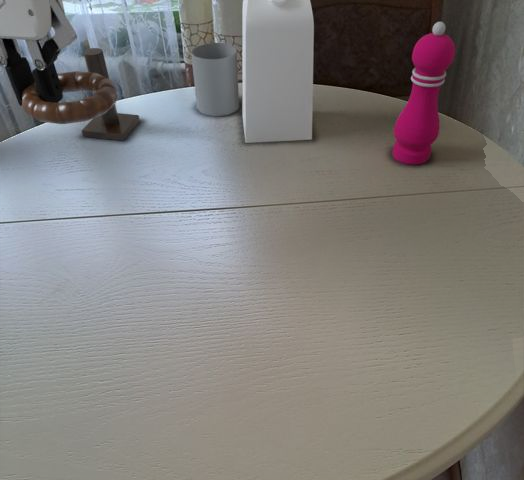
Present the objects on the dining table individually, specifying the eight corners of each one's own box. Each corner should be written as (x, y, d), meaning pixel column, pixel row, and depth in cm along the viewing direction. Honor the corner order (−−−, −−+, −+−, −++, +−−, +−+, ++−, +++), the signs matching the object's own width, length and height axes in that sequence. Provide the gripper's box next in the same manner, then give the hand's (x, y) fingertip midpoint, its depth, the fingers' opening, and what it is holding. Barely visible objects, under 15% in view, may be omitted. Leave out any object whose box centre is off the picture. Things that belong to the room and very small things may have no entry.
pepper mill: (380, 156, 86) (404, 22, 71) (405, 141, 89) (432, 10, 74) (416, 171, 82) (449, 34, 67) (440, 155, 86) (476, 21, 70)
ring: (8, 121, 53) (0, 102, 52) (54, 83, 60) (49, 65, 58) (94, 131, 52) (88, 112, 50) (132, 91, 58) (128, 72, 57)
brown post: (83, 136, 92) (59, 58, 82) (101, 117, 97) (82, 41, 87) (123, 141, 91) (104, 62, 81) (140, 121, 96) (124, 44, 86)
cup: (191, 113, 98) (184, 57, 90) (204, 95, 103) (199, 41, 95) (233, 117, 96) (229, 61, 89) (244, 99, 101) (241, 44, 94)
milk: (303, 110, 97) (311, -59, 78) (311, 139, 90) (322, -40, 70) (242, 114, 97) (234, -56, 77) (245, 143, 90) (237, -37, 70)
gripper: (-147, -116, 41) (-41, 110, 55) (27, -111, 39) (92, 124, 53) (-85, -129, 46) (-2, 82, 60) (73, -125, 43) (121, 94, 57)
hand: (41, 100), depth 56 cm, fingers closed on ring, 2 cm apart
